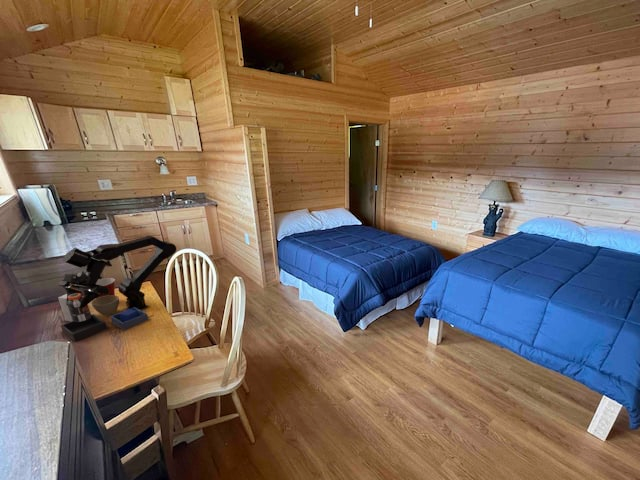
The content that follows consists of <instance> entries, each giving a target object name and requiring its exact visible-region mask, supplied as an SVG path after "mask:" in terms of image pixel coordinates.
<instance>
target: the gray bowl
mask: <svg viewBox="0 0 640 480" xmlns="http://www.w3.org/2000/svg"><path fill="white" fill-rule="evenodd" d="M90 303H91V305H92V308H94V310H95V312H97V313H98V314H100V315H101V316H103V317H107V316H112V315H115V314H116V313H117V310H118V308H119V305H120V297H119V296H118V295H116V294H115V295H108V296H102V297H99V298H97V299H94V300H93V301H91V302H90Z"/></svg>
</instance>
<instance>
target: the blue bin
mask: <svg viewBox="0 0 640 480" xmlns="http://www.w3.org/2000/svg"><path fill="white" fill-rule="evenodd" d="M131 310H136V311H137V314H138V317H136V318H133V319H131V320H128V321H125V322H122V321H121V317H120V313H122V312H124V311H125V310H123V311H121V312H118V313H114V314H112V315H109V316H110V320H111V323H112V324H113V325H115V326H116V327H117V328H119V329H121V330H122V331H126V330H128V329H131V328H133V327H136V326H138V325H140V324H143V323H145V322H148V321H149V316H148V312H145V311H143V310H142V309H141V310H139V309H138V308H136V307H134V308H131Z"/></svg>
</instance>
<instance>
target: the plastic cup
mask: <svg viewBox="0 0 640 480" xmlns="http://www.w3.org/2000/svg"><path fill="white" fill-rule="evenodd" d="M115 281H116V279H115V278H114V277H113V278H112V277H106V278H105V277H104V278H102V279H98V281H97V283H96V284H97V285H102V286H104V287H107V288H109V290H110V291H109V293H108V295H115V296H116V293H115V291H116V290H115ZM108 295H104V294H101V296H99V297H102V296H108ZM99 297H97V298H99ZM97 298H96V299H97Z"/></svg>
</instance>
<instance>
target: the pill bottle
mask: <svg viewBox="0 0 640 480" xmlns="http://www.w3.org/2000/svg"><path fill="white" fill-rule="evenodd" d="M83 297H84V296H83V295H82V293H81V294H80V293H75V294H71V295H69V296H68V299H69V300H68V302H67V305H68V308H69V311H70V314H71V317H72V320H73V321H75V322H81V321H85V320H87V319H89V318H90V317H91V315H92V314H91V311H90V306H89V304H87V305H86V306H85V307H83V308H80V304H81V302H82V300H83Z"/></svg>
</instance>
